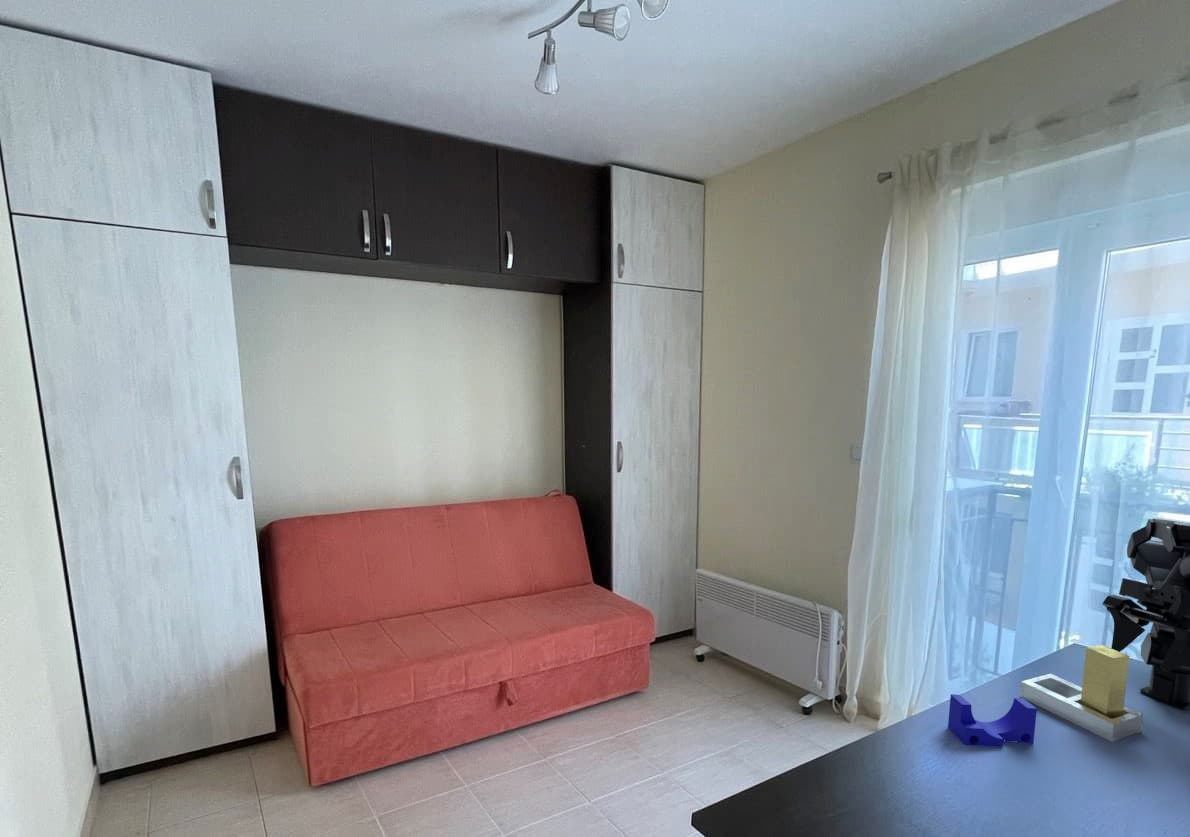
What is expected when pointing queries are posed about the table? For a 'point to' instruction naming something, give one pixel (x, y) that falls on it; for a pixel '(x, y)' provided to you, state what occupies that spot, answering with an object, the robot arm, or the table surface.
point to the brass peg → (1104, 680)
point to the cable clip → (992, 724)
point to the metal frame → (1078, 707)
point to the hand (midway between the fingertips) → (1137, 660)
